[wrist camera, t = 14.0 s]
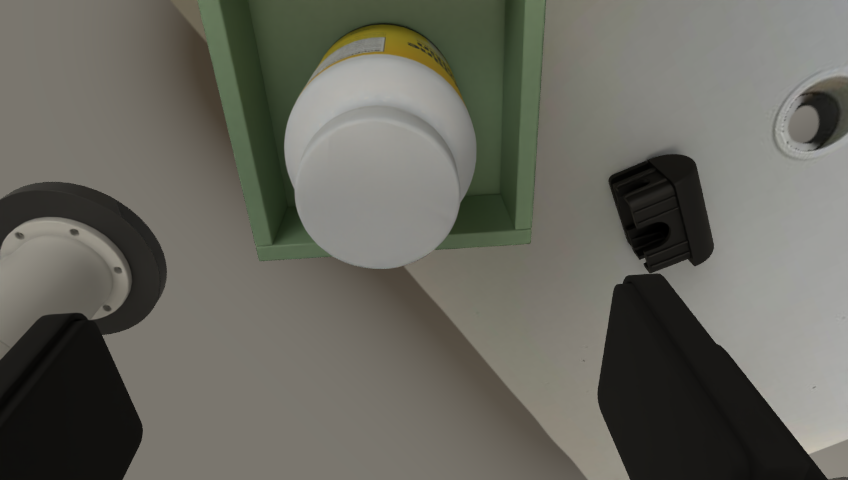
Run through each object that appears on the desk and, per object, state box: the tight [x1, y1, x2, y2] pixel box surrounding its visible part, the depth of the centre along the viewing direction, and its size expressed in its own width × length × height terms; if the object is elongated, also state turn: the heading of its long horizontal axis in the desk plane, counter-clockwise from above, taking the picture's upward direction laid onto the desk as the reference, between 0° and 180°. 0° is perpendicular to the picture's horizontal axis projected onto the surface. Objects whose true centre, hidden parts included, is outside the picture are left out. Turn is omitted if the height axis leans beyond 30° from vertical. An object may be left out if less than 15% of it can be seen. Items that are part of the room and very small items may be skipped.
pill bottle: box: [284, 23, 476, 269], centre depth 20 cm, size 6×6×12 cm
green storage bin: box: [197, 0, 546, 261], centre depth 24 cm, size 13×13×5 cm
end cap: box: [609, 154, 714, 273], centre depth 53 cm, size 10×7×7 cm
